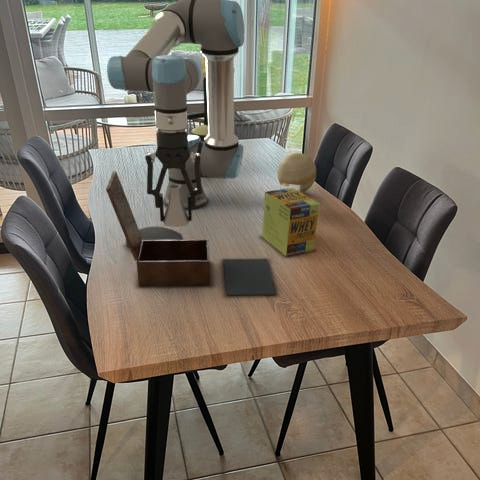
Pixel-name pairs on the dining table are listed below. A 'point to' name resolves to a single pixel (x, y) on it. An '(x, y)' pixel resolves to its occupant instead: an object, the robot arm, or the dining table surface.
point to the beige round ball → (297, 171)
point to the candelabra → (204, 130)
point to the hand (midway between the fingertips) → (176, 218)
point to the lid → (124, 214)
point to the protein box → (290, 221)
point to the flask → (175, 209)
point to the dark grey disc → (158, 234)
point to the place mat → (248, 277)
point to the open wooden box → (173, 263)
